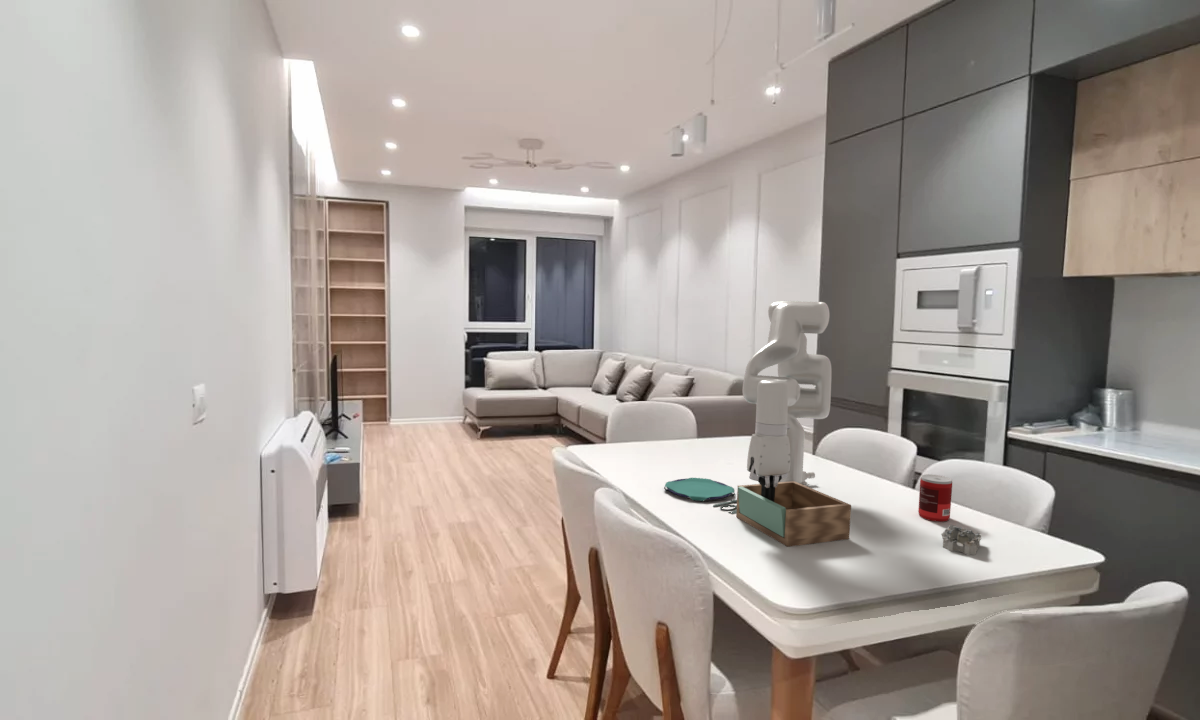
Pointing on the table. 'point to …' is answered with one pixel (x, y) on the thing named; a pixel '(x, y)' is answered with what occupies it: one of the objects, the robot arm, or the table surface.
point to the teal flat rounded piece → (702, 490)
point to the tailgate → (762, 510)
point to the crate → (805, 515)
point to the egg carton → (961, 540)
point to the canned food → (935, 497)
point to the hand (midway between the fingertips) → (767, 501)
